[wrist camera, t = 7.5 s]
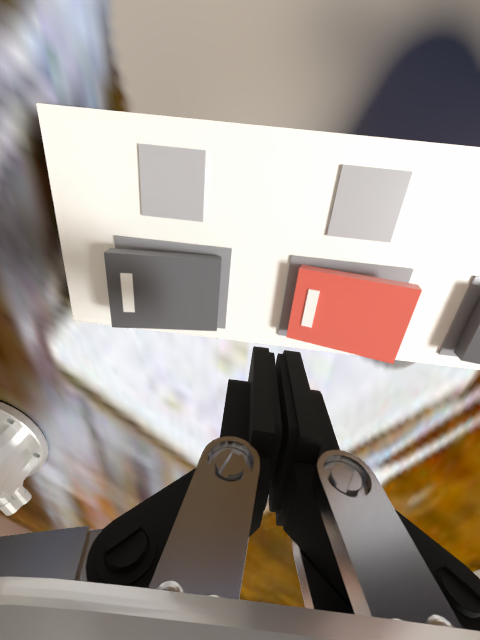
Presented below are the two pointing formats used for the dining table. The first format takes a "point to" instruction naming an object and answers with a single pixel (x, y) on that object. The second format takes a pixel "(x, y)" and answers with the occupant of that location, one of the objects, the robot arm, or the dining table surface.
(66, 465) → the dining table surface
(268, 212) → the rocker switch panel
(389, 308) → the red rocker
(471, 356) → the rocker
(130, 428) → the dining table surface
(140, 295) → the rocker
